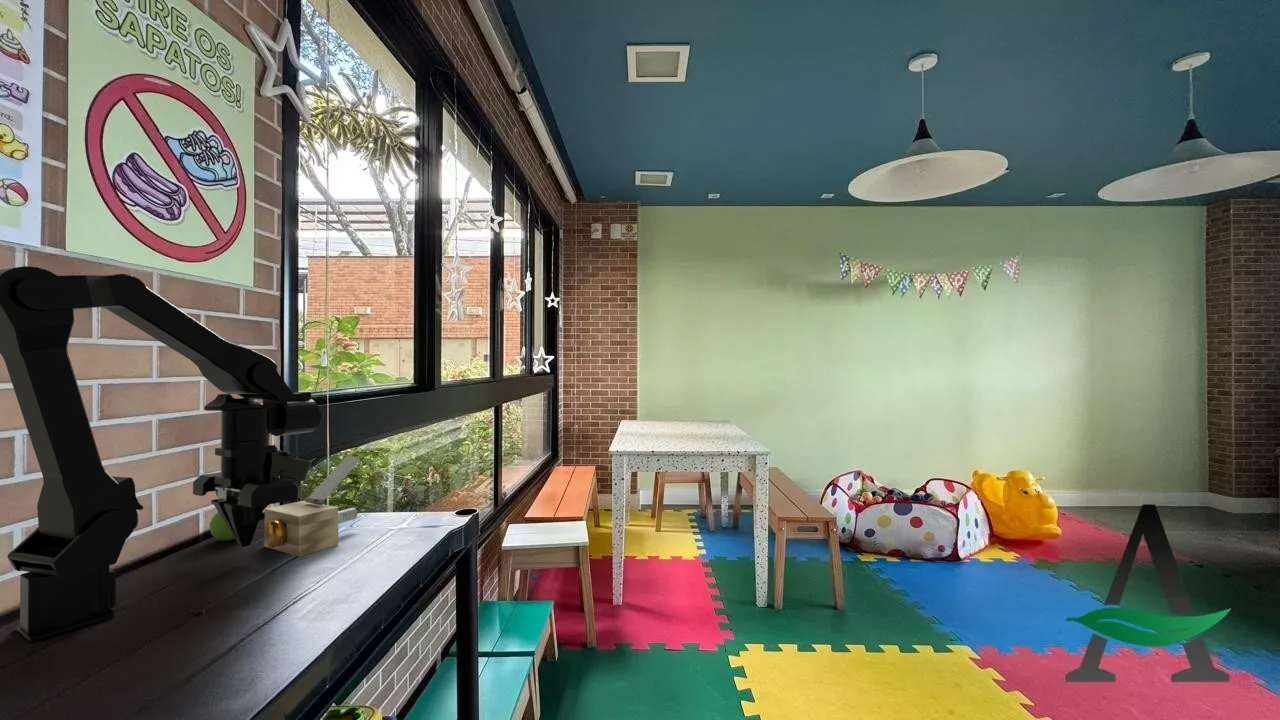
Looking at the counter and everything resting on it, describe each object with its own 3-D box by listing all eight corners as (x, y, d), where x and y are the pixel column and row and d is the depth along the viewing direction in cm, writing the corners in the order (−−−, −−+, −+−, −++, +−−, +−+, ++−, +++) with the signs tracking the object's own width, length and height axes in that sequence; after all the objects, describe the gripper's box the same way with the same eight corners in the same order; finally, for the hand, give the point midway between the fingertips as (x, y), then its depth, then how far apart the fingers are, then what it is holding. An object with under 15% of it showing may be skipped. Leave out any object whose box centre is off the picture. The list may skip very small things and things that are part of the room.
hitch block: (298, 556, 79) (298, 516, 79) (264, 546, 83) (264, 508, 84) (338, 544, 84) (338, 507, 84) (304, 535, 89) (304, 500, 89)
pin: (277, 549, 79) (277, 523, 79) (263, 545, 81) (263, 519, 81) (361, 526, 90) (360, 503, 90) (347, 523, 92) (347, 500, 92)
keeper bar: (321, 506, 85) (317, 502, 84) (307, 503, 86) (303, 500, 86) (362, 460, 91) (358, 456, 90) (348, 458, 93) (345, 455, 92)
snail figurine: (239, 544, 85) (239, 470, 85) (200, 545, 85) (200, 471, 85) (264, 534, 90) (264, 464, 90) (227, 534, 90) (227, 465, 90)
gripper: (336, 436, 80) (336, 539, 79) (272, 431, 89) (272, 524, 88) (253, 445, 70) (252, 563, 69) (191, 439, 79) (190, 542, 79)
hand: (244, 546), depth 77 cm, fingers closed
